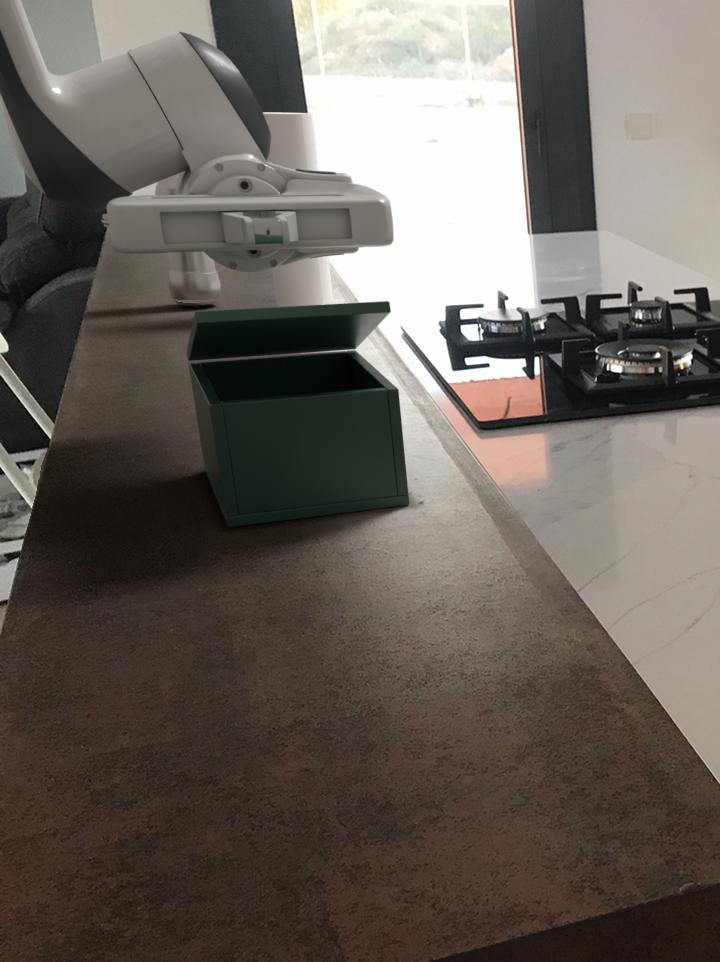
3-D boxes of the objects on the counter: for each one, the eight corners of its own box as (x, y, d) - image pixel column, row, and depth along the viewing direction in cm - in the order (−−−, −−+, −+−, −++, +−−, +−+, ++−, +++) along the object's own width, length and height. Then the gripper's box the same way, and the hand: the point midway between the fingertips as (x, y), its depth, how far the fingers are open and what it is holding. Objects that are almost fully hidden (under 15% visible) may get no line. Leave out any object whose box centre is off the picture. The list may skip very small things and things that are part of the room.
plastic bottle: (215, 300, 178) (193, 149, 171) (230, 307, 174) (208, 151, 166) (165, 304, 175) (141, 149, 167) (180, 311, 170) (155, 152, 162)
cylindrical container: (345, 312, 172) (324, 114, 163) (302, 319, 167) (277, 114, 157) (309, 306, 176) (286, 112, 166) (266, 313, 170) (239, 112, 161)
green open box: (409, 505, 96) (398, 388, 92) (228, 527, 90) (209, 404, 87) (366, 453, 108) (355, 350, 105) (205, 471, 103) (188, 361, 99)
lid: (391, 312, 90) (389, 300, 90) (196, 323, 85) (194, 311, 85) (356, 349, 105) (354, 339, 105) (188, 361, 99) (186, 350, 99)
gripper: (93, 175, 98) (99, 188, 87) (367, 172, 107) (404, 185, 96) (107, 259, 101) (115, 283, 89) (374, 250, 110) (412, 270, 99)
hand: (268, 232), depth 93 cm, fingers closed
